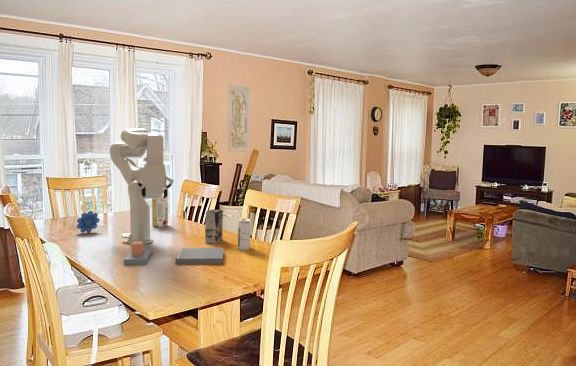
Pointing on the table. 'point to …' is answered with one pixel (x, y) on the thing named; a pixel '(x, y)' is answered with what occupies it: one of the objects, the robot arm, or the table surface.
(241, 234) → the syrup box
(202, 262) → the board
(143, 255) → the stub
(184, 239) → the table surface
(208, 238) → the coffee box
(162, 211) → the juice carton
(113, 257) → the table surface
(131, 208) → the robot arm
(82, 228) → the grapes
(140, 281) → the table surface
